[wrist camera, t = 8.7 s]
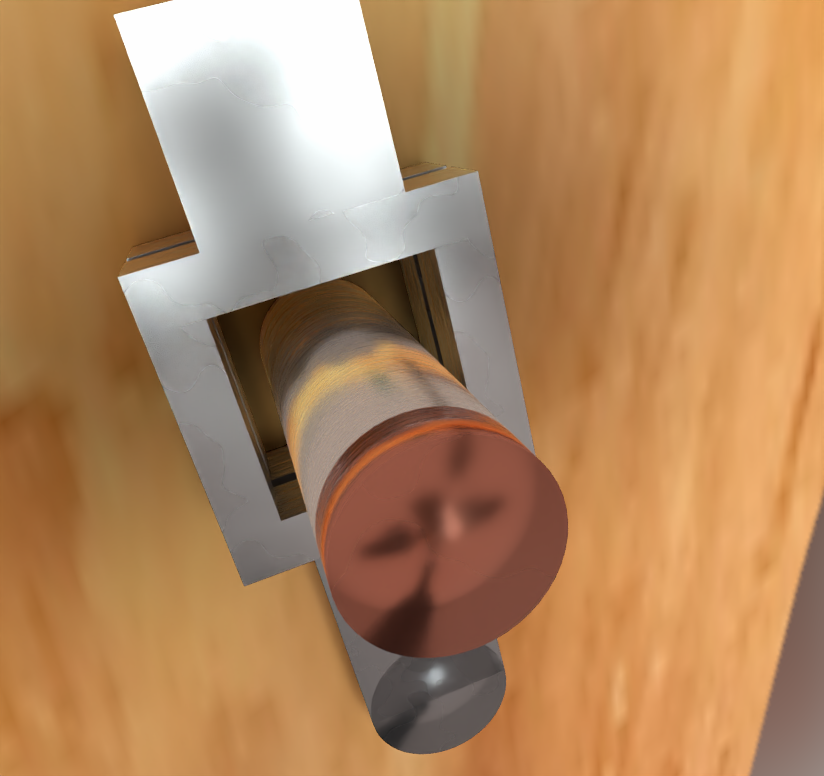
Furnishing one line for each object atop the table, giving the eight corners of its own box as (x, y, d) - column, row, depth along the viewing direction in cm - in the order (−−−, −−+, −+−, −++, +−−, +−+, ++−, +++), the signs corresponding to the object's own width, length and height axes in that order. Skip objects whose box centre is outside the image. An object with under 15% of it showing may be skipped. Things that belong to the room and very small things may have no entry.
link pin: (401, 379, 19) (584, 604, 10) (282, 418, 19) (366, 692, 10) (369, 261, 18) (545, 399, 9) (241, 300, 18) (293, 488, 9)
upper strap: (484, 419, 20) (539, 476, 17) (235, 507, 19) (244, 586, 16) (382, -25, 16) (431, -61, 13) (56, 55, 15) (19, 37, 12)
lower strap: (540, 665, 24) (562, 700, 22) (332, 752, 23) (341, 795, 21) (425, 161, 18) (445, 165, 16) (131, 246, 17) (126, 258, 15)
